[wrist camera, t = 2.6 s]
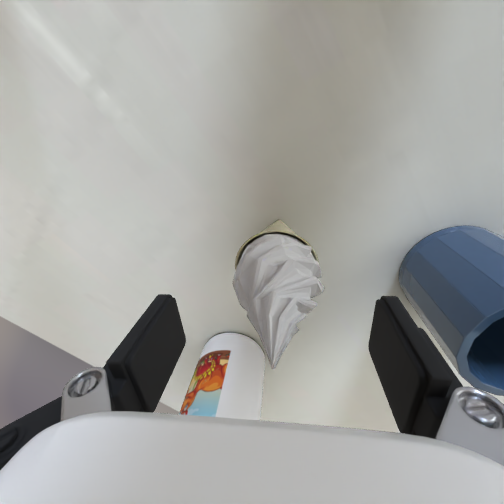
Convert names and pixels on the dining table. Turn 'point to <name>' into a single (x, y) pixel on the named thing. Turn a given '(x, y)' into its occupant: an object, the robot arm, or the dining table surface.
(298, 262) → the ice cream cone
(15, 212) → the dining table surface
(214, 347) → the milk bottle
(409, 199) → the dining table surface
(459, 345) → the tumbler
